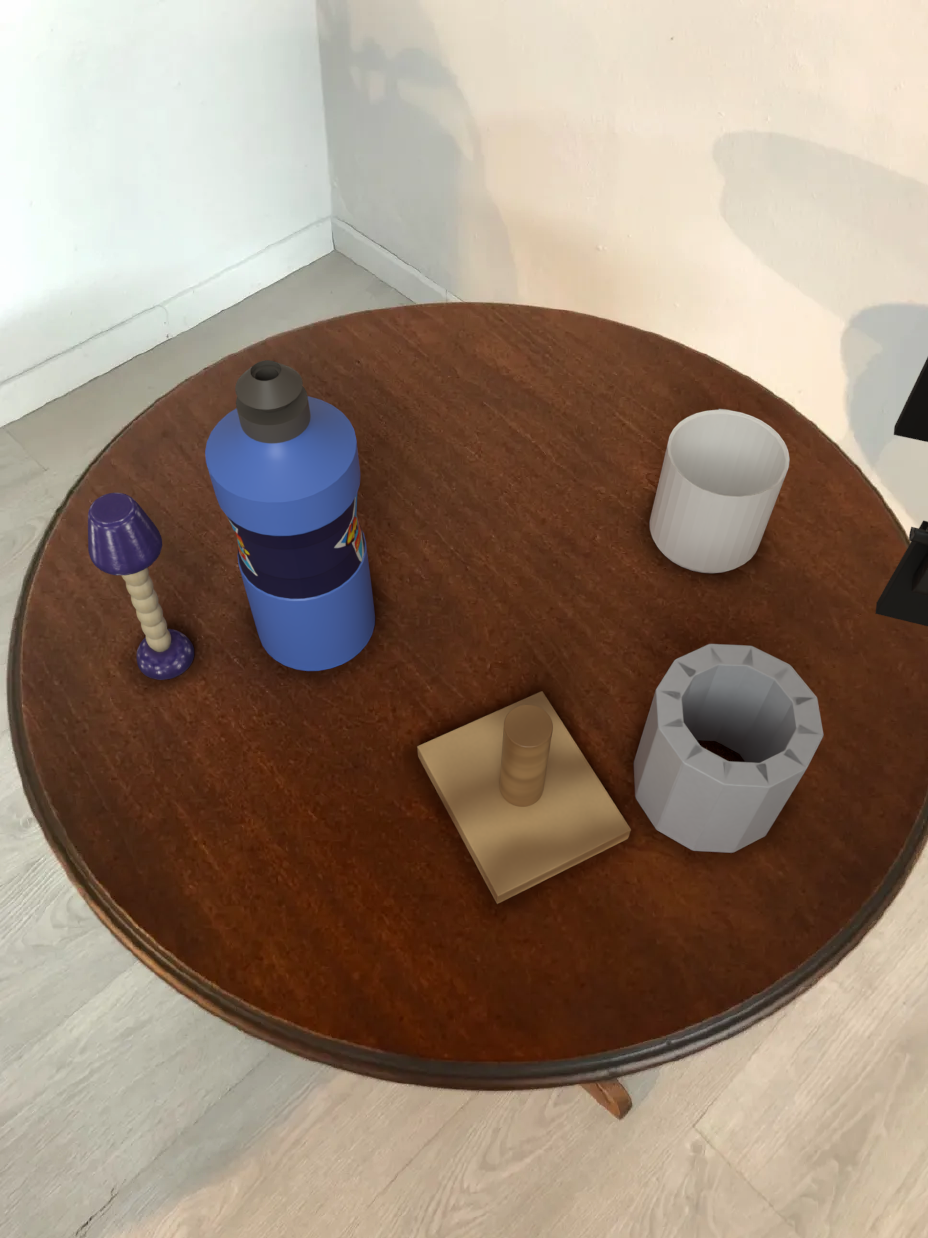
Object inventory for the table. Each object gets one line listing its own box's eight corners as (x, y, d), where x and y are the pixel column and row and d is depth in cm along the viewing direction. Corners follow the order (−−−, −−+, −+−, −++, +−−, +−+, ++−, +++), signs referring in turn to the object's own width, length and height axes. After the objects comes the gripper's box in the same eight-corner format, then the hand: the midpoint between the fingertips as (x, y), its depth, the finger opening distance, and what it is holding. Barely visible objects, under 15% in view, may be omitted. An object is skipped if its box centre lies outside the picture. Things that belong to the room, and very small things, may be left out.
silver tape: (808, 813, 69) (855, 743, 61) (686, 877, 67) (718, 813, 58) (723, 700, 74) (756, 622, 66) (607, 755, 72) (626, 681, 64)
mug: (746, 588, 80) (777, 510, 73) (636, 556, 82) (654, 477, 74) (775, 484, 87) (806, 402, 79) (672, 456, 89) (692, 374, 81)
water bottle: (372, 568, 81) (343, 312, 61) (381, 666, 76) (352, 420, 56) (255, 579, 81) (186, 323, 60) (256, 678, 75) (180, 435, 55)
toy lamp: (171, 620, 78) (111, 469, 65) (215, 649, 77) (163, 501, 63) (125, 662, 76) (53, 515, 62) (170, 693, 75) (105, 550, 61)
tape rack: (628, 838, 68) (651, 771, 60) (497, 904, 66) (502, 843, 57) (540, 701, 74) (550, 622, 66) (417, 756, 72) (412, 681, 64)
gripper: (1011, -5, 46) (860, 361, 63) (1007, 337, 32) (816, 685, 50) (1188, 19, 45) (985, 386, 62) (1263, 386, 31) (975, 726, 48)
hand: (910, 519), depth 56 cm, fingers open, 13 cm apart
